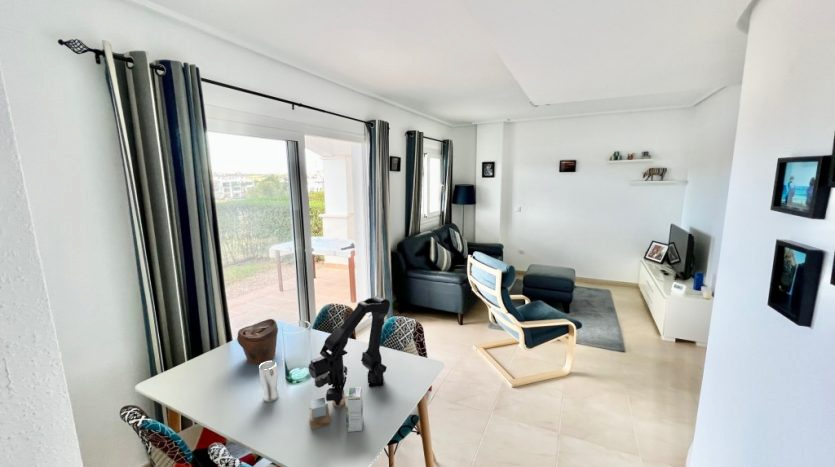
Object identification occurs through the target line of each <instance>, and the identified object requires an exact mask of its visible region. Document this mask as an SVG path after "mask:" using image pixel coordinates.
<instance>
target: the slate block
mask: <svg viewBox="0 0 835 467" xmlns="http://www.w3.org/2000/svg"><path fill="white" fill-rule="evenodd" d="M310 402H311V403H310V404H311V407H310V408H312V418H317V417H321V416H325V415H326V406H325V404H326V397H321V398H316V399H311V400H310Z"/></svg>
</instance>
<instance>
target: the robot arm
mask: <svg viewBox="0 0 835 467" xmlns="http://www.w3.org/2000/svg"><path fill="white" fill-rule="evenodd" d="M390 307H391V302H390V300H389V299H387V298H385V297H383V296H380V295H374V296H373V297H369V298H366V299H364V300H362V301H359V302H357V305H356V306H355V308H354V310H353V311H351V313H350V315H349V316H348V317H347V318H346V319H345V321H344V322H343V323H342V325H341V326H340V327H339V328H338V329H336V330H335V331H333V332H331V333H330V334H329V335H328V337H326V339H325V340H324V344H323V345H322V347H321V350H320V351H319V355H321V356H319V357H317V358H313V359H311V360H310V363H309V364H308V372H309V375H310V377H312V379H314V386H315V387H316V388H318V389H319V388H322V387H324V386H325V385H328V386H331V387H328V389H327V391H326V394H325V401H327V402H333V401H335V403H336V405H337V406H338V405H340V402H341V400H342V399H343V395H344V396H345V390H344V389H345V388H344V387H345V385H346V382H347V375H348V373H349V372H348V367H347V366H345V364H344V357H343V356H345V355H347V354H348V351H347V350H345V348H346V347H347V345H348V341H349V337H350V336H351V335H352V333H353V332H354V331H355V329H356V328H357V327H358V325H359V324H360V323H361V321H362V320H363V319H364V317H365V316H366V315H367V314H368V313H371V316H372V318H371V326H370V332H369V338H368V339H369V340H368V348H367V349H366V350H365V351H363V352H362V356H361V360H360V362H361V364H362V366H363V367H365V368H366V369H367V370H368V371H367V375H366V376H367V384H368V387H369V388H373V387H383V386H385V382H384V380H385V379H384V378H385V376H384V373H385V372H386V371H387V366H386V365H385V364H383V363H382V359H383V358H382V354H381V352H380V349H381V348H380V347H381V342H382V341H381V340H382V334H383V333H382V332H383V327H384V321H385V317H386V316H387V315H388V314H389V310H390ZM329 352H330V353H329Z"/></svg>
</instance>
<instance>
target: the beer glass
mask: <svg viewBox="0 0 835 467" xmlns="http://www.w3.org/2000/svg"><path fill="white" fill-rule="evenodd" d="M258 371H259V372H258V375H259V382H260V384H261V387H262V391H263V401H265V403H266V402H267V403H271V402H273V401H275V400H278V398H279V396H280V393H279V390H278V382H279V380H278V379H279V373H278V366H277V363H276V361H274V360H268V361H266V362H263V363H260V365H259V366H258Z"/></svg>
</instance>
